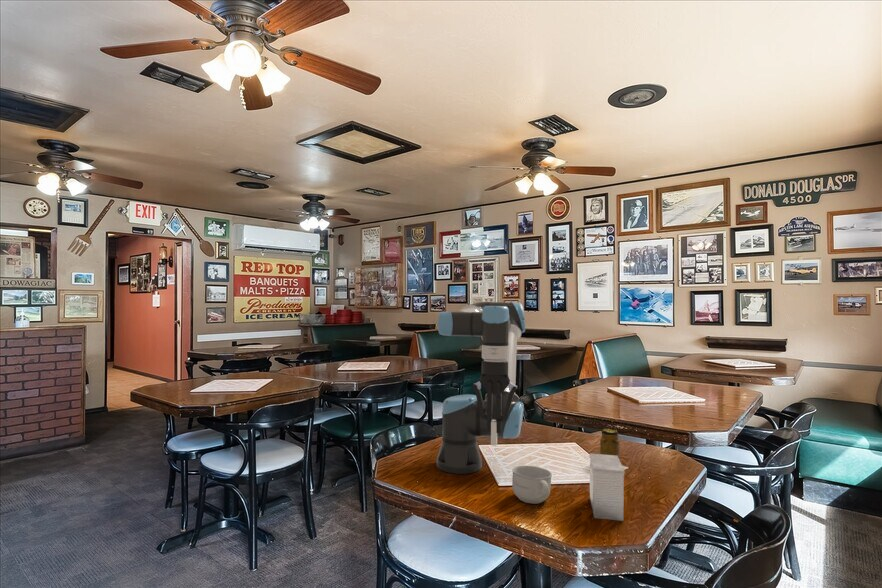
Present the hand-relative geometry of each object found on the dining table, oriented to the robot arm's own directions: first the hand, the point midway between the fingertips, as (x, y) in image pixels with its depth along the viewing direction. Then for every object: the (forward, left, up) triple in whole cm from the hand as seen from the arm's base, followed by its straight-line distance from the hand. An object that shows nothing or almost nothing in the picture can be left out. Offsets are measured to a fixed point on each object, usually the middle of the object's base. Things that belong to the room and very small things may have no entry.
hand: (494, 444), depth 130 cm
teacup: (+11, 0, -15) cm, 19 cm away
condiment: (+36, +35, -15) cm, 53 cm away
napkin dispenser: (+30, 0, -15) cm, 34 cm away
